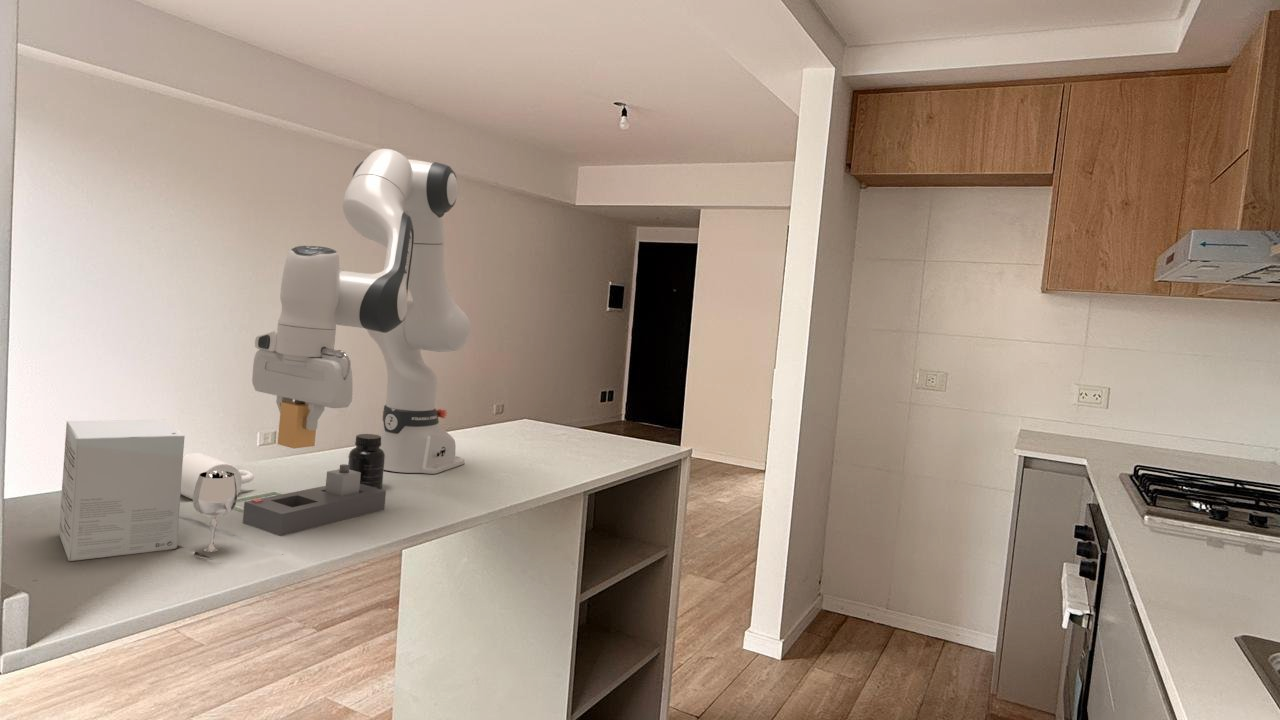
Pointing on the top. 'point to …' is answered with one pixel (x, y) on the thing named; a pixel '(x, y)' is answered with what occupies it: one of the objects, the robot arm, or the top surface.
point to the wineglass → (214, 499)
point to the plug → (294, 425)
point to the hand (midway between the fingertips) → (298, 426)
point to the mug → (205, 463)
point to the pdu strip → (310, 509)
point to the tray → (254, 498)
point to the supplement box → (120, 488)
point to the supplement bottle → (368, 460)
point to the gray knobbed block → (343, 481)
